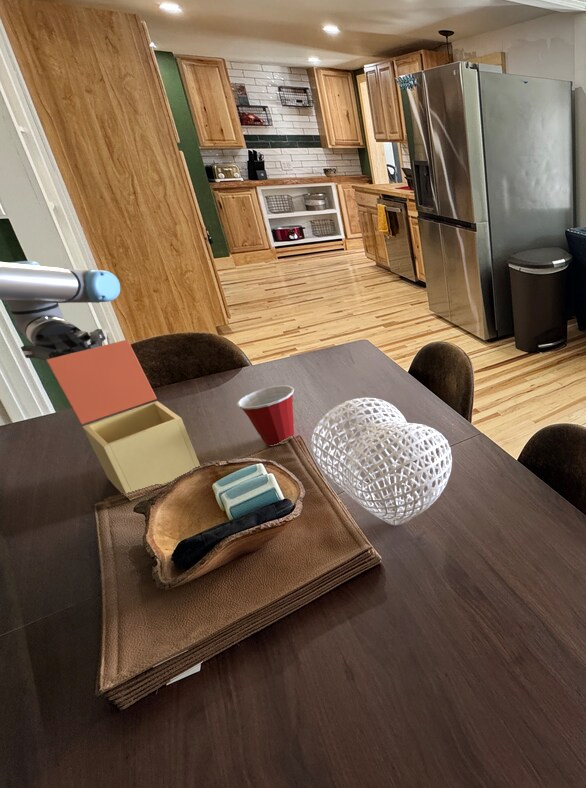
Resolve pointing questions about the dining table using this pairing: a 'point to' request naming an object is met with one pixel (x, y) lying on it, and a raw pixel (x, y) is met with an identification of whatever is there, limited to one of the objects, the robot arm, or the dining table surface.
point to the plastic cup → (270, 412)
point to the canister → (142, 447)
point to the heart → (382, 459)
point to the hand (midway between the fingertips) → (88, 359)
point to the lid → (102, 380)
